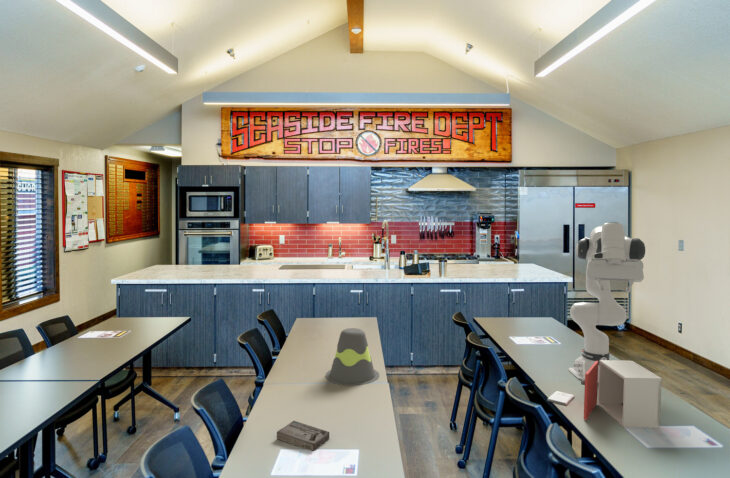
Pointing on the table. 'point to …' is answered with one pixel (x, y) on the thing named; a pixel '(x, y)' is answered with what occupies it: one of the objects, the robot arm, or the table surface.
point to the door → (590, 389)
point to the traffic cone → (352, 360)
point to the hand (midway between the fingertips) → (614, 290)
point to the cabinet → (629, 393)
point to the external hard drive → (560, 398)
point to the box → (303, 435)
